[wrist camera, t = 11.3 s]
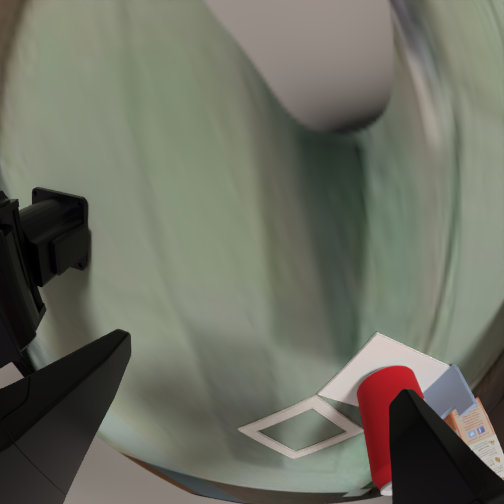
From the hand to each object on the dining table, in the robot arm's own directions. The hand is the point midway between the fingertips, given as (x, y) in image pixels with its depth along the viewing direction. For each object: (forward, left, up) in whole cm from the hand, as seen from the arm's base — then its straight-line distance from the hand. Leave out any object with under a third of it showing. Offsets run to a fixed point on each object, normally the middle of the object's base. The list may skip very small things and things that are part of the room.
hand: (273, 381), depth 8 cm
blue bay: (+15, -12, -13) cm, 23 cm away
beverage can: (+15, -12, -13) cm, 23 cm away
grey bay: (+10, -23, -13) cm, 28 cm away
